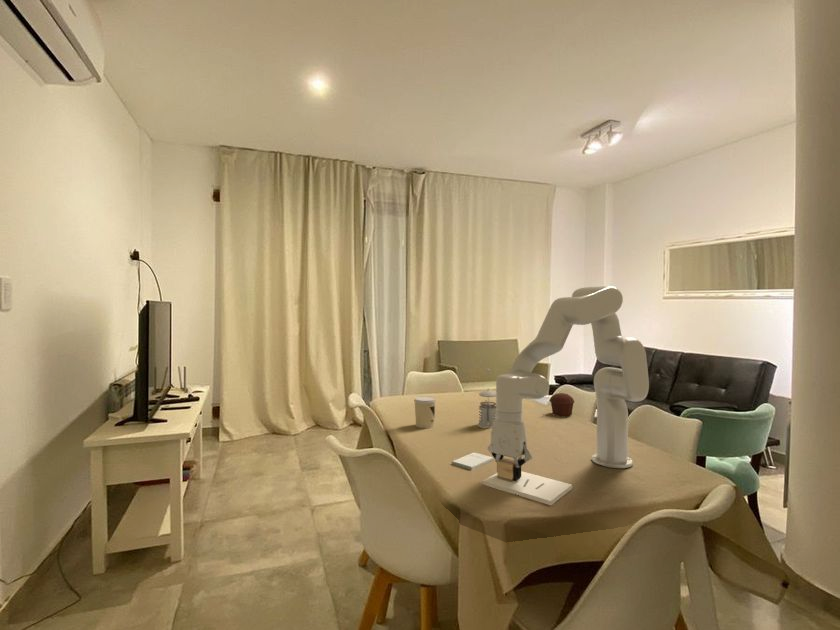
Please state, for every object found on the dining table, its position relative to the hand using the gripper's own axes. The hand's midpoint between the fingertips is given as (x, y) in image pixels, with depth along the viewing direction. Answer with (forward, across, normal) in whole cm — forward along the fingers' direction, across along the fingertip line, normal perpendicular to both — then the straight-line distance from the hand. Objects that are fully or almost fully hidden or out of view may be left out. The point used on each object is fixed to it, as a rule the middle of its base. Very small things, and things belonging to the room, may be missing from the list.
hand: (509, 476), depth 132 cm
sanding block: (0, 0, 0) cm, 0 cm away
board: (+1, +6, 0) cm, 6 cm away
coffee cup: (+2, -59, +31) cm, 67 cm away
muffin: (+2, -22, +90) cm, 93 cm away
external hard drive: (+2, -18, +7) cm, 19 cm away
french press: (+2, -38, +49) cm, 62 cm away
